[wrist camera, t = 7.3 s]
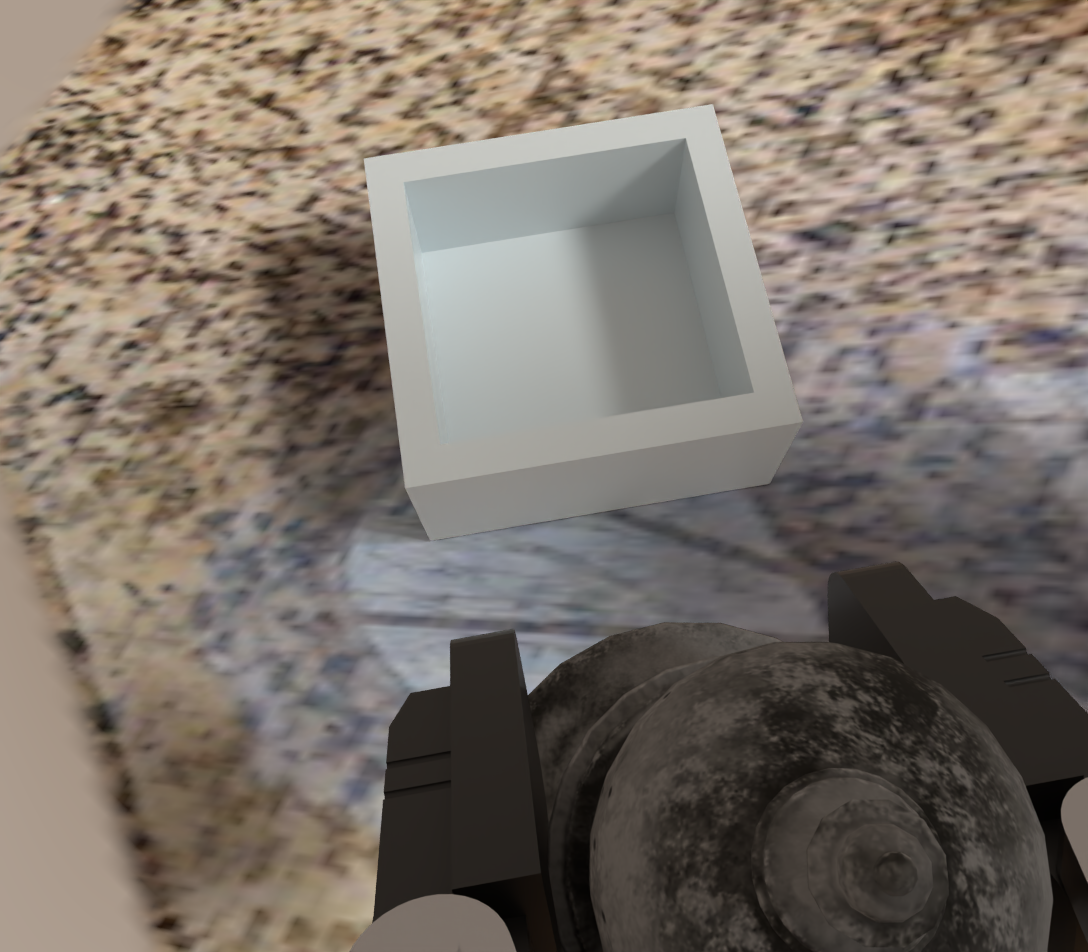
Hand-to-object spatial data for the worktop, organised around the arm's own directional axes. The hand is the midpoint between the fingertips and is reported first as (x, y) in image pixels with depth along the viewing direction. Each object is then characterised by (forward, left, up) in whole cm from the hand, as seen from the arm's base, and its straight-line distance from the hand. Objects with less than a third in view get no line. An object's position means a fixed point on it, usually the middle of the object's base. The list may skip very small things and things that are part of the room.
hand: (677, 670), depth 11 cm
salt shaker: (0, +2, -6) cm, 6 cm away
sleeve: (-1, -12, -16) cm, 20 cm away
